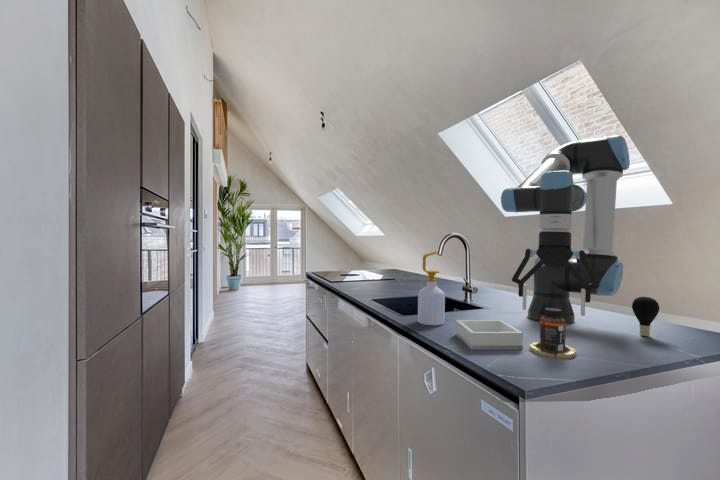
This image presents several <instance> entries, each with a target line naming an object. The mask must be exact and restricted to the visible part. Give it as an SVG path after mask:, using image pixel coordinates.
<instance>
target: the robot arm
mask: <svg viewBox="0 0 720 480" xmlns="http://www.w3.org/2000/svg"><path fill="white" fill-rule="evenodd" d="M627 144H628V143H627V141H626V139H625V137H624V136H622V135H610V136H609V135H607V136H603V137H602V136H601V137H597V138H596V137H595V138H590V139H589V138H588V139H583V140H576V141H571V142H568V143H567V142H566V144H563V145H561V146H559V147H557V148H556V149H554V150H552V151H550V152H549V153H548V154H547V155H545V157H544V158H543V159H542V161H541V163H540V165H539V166H538V167H537V168H536V169H535V170H534V171H533V172H532V173H531V174H530V175H528V177H526V178H525V179H524V180H523V181H522V182H521V183H520V184H519V185H518V186H517V187H509V188H505V189H504V190H502V192H501V195H500V204H501V208H502V210H503V211H505V212H507V213H528V212H531V213H533V212H539V216H538V217H539V219H538V220H539V222H538V223H539V224H538V229H539V230H541V231H540V232H538V248H537V249H531V248H526V249H525V251H524V257H523V259H522V261H521V262H520V264H519V266H518V268H517V269H516V271H515V273H514V274H513V276H512V278H511V282H512V283H516V284H517V285H518V297H520V298H522V311H523V310H524V311H526V309H527V290H528V289H527V288H528V287H527V286H528V284H525V283H526V282H527V281H528V280H529V279H530V278H531V277H532V276H533V289H532V290H533V291H532V292H533V294H532V299H531V301H530V304H529V306H528V310H527V318H529V319H531V320H534V321H538V322H540V320H541V317H542V316H544V315H545V313H544V312H545V308H557V309H561V310H562V317H563V318H564V319H565V321H566V324H572V323H574V322H575V312H574V309H573V306H572V303H571V299H570V293H573V294H574V293H575V294H580V316H582V317H586V303H589V304H590V302H591V296H592V295H593V296H597V297H601V296H603V297H612V296H614V295H615V296H616V294H617V293H618V291H619V289H620V286H621V283H622V280H623V276H624V264H623V263H622V261H620V260H618V255H617V254H616V253H615V252H614V249H613V246H614V244H613V243H614V230H615V215H616V202H617V201H616V198H617V184H618V183H617V182H618V180H619V179H621V178H622V177H623V175H624V171H626V170H628V169H630V163H631V162H630V153H629V147H628V145H627ZM577 174H578V175H579V174H582V178H583V180H585V181H586V191H585V189H584V188H583V187H581V186H580V185H578V184H574V175H577ZM583 207H584V208H585V210H584V224H583V233H582V236H583V238H582V249H580V250H575V251H574V250H572V233H571V232H570V231H571V230H572V228H573V227H572V224H573V223H572V221H573V220H572V219H573V212H576V211H580V210H581V209H583ZM535 255H536V256H537V257H536V258H535V259H534V263H533V265H534V266H533V267H532V268H530V270H529V271H528V272H527V273H526V274H525V275H524V276H523V277H522V278H520V276H521V274H522V272H523V271H524V269H525V267H526V265H527V264H528V262H529V260H530V258H533V257H534V256H535ZM573 256H574V257H575V258H572V257H573Z"/></svg>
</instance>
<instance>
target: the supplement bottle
mask: <svg viewBox="0 0 720 480" xmlns="http://www.w3.org/2000/svg"><path fill="white" fill-rule="evenodd" d="M544 313H545V315H544V316H542V317H541V320H540V321H539V322H540V324H539V342H540V347H539V349H540V350H543V351H548V352H553V353H566V351H565V345H566V328H567V326H566V324H567V323H566V321H565V319H564V318H563V317H562V310H561V309H557V308H545V312H544Z"/></svg>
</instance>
